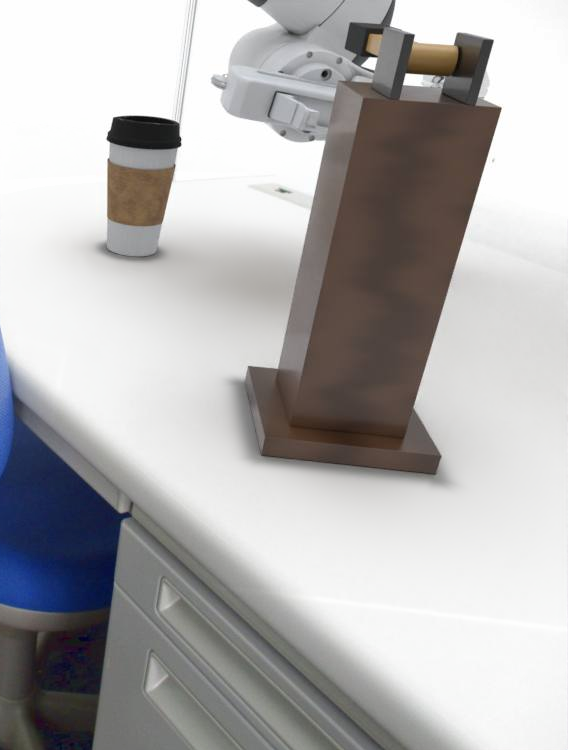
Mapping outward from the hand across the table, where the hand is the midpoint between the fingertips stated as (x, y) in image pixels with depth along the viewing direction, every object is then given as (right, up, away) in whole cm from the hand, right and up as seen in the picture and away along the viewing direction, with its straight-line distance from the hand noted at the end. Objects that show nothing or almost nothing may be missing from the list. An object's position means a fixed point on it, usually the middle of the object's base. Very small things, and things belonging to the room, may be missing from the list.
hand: (360, 130), depth 75 cm
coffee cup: (-16, -5, +28) cm, 33 cm away
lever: (-3, +1, -13) cm, 14 cm away
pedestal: (-6, -25, -9) cm, 27 cm away
